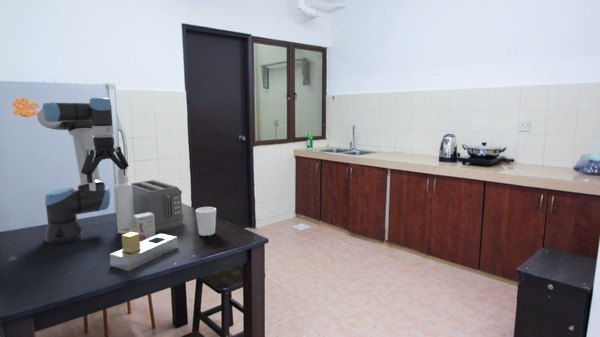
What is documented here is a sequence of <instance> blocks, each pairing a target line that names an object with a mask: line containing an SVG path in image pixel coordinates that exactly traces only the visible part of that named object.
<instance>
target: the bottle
mask: <svg viewBox="0 0 600 337" xmlns="http://www.w3.org/2000/svg"><path fill="white" fill-rule="evenodd" d="M116 177H117V178H116V180H117V183H116V184H115V185H114V187H113V190H114V203H115V211H116V212H115V215H116V225H117V226H116V227H117V233H118V234H126V233H129V232H134V229H133V216H134V203H133V190H132V185H131V184H130V182H129V176H128V175H126V174H125V176H124V182H125V184H119V180H118V175H117V176H116Z"/></svg>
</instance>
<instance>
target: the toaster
mask: <svg viewBox="0 0 600 337" xmlns="http://www.w3.org/2000/svg"><path fill="white" fill-rule="evenodd" d="M129 183H130V182H129ZM130 184H131V185H132V190H133V203H134V215H137V214H142V213H147V212H151V213H153V214H154V219H155V233H156V232H160V231H164V230H167V229H171V228H174V227H179V226H181V225H183V224H184V219H185V218H184V213H183V209H182V206H183V204H182V190H181V189H180V188H179V187H178V186H175V185H172V184H168V183H166V182H161V181H158V180H155V179H152V180H151V179H150V180H143V181H138V182H132V183H130Z"/></svg>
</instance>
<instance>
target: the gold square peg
mask: <svg viewBox="0 0 600 337" xmlns="http://www.w3.org/2000/svg"><path fill="white" fill-rule="evenodd" d="M140 242H141V241H140V239H139V233H135V232H134V231H133V232H129V233H123V234H122V235H121V246H122V249H123V253H126V254H130V255H131V254H133V253H136V252H138V251H140Z"/></svg>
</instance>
